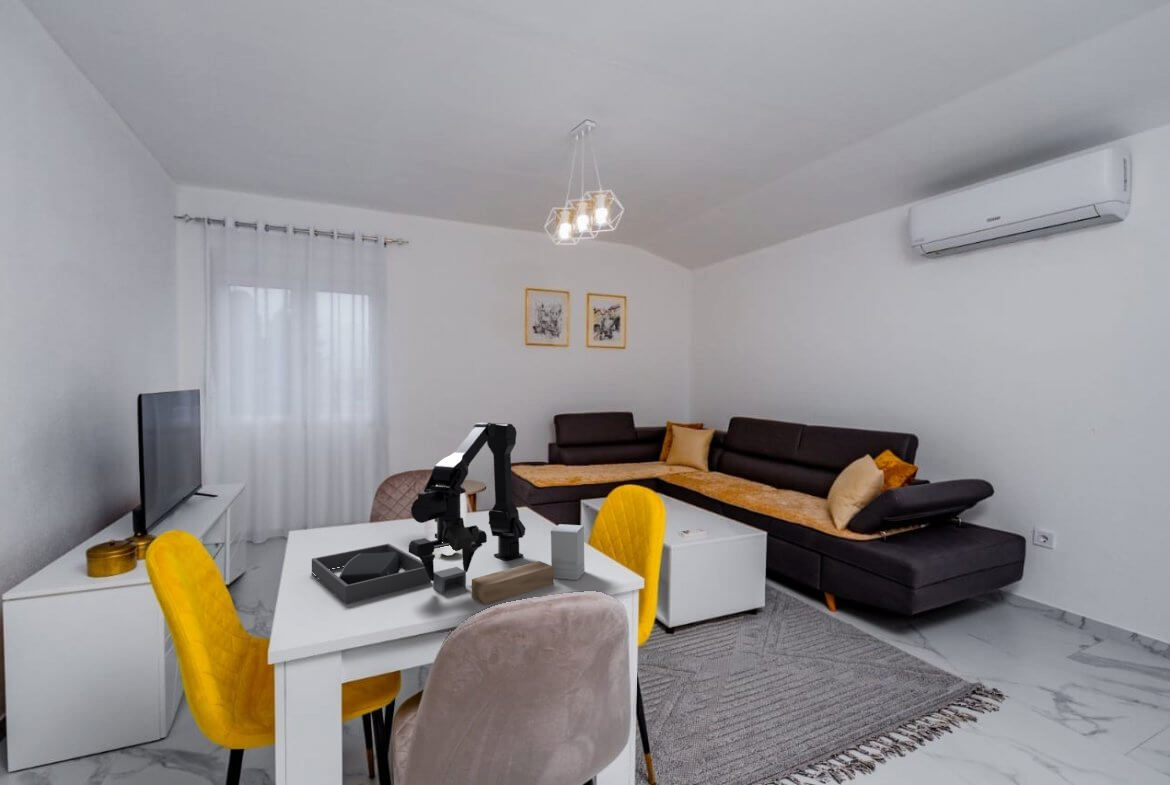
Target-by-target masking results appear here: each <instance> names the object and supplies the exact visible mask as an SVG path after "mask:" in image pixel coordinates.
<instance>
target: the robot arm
mask: <svg viewBox="0 0 1170 785" xmlns="http://www.w3.org/2000/svg"><path fill="white" fill-rule="evenodd" d="M516 441H517V429H516V427H515V426H514V425H513V424H512V423H499V422H498V423H492V422H487V421H486V422H484V421H483V422H477V423H474V425H473V429H471V431H470V432H469V434H468V435H467V436H466V438H465V439H464V440H463V441H462V443H461V444H459V445H458V447H457V448H456V450H455V451H454V452H453V453H452V454H450V455H448V456H446V457H444V458H442V459H441V460H440V461H439V462H438V463H437V464H435V466H433V469H432V472H431V474H430V476H429V478H428V481H427V482H426V485H425V487H424V489H423V491H424V492H419V493H417V499H415V500H413V503H412V505H411V506H410V513H411V516H412V519H414V520H415V521H416V522H418V523H420V524H423V523H427V522H430V521H432V520H433V521H434V522H435V523H436V533H434V539H435V540H429V539H428V538H425V537H424V538H419V539H414V540H413V539H412V540H411V541H410V543H409V544H408V554H410V555H412V556H415V557H417V558H419V559H420V561H422V563H423V565H424V567H425V569H426V571H427V574H428V576H429V578H430V580H431V582H433V580H434V572H435V571H434V570H435V569H434V567H435V566H434V559H436V558H435V557H436V555H435V554H434V552H435V550H436V549H438V548H440V547H444V546H449V545H450V546H451V547H452V549H453V550H455V551H457V552H458V551H459V552H460V551H462V552H461V553H462V554H461V555H462V569H463V570H464V571H466V573H468V570H469V567H470V566H471V562H472V559H473V557H474V555H475V552H476V551H477V550H478V549H479V548H481V547H482V546H483V544H485V543H487V542H488V539H487V538H488V535H487V533H486V532H485V531H484V530H482V529H479V527H478V526H477V525H475V524H474V525H470V526H466V527H465V523H464V522H465V521H464V518H463V517H461V494H465V493H466V492H467V491H466V489H465V488H463V487H462V485H463V483H464V481H465V480H466V478H467V476H468V474H469V466H470V464H471V463H472V462H473V460H474V459H475V458H476V456H477V455H478V453H479V452H480V451H481V450H482V448H483V447H484V445H486V444H487V447H488V448H489V450H490V452H491V453H492V454H493V474H494V475H493V476H494V477H493V480H494V506H492V509H490V510H489V511H488V525H489V527H490V528H489V529H490V531H491V537H492V536H493V537H498V538H497V541H498V542H497V544H498V548H497V552H498V553H497V552H496V553H494V554H493V556H494V557H495V558H498V559H500V560H502V561H510V560H514V559H518V558H522V557H524V554H523V553H520V539H521V538H524V536H525V535H526V527H525V525H524V524H523V522H522V521H521V519H520V515H519V514H520V513H519V510H518V509H517V506H516V505H515V504H514V502H513V483H512V461H511V460H512V459H511V457H512V456H511V454H512V451H513V449H514V447H515V445H516V443H517V442H516ZM442 542H443V543H442Z"/></svg>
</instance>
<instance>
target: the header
mask: <svg viewBox="0 0 1170 785" xmlns="http://www.w3.org/2000/svg"><path fill="white" fill-rule="evenodd" d="M551 585H554V578H553V566H552V564H548V563H546V562H543V561H540V560H537V561H534V562H531V563H527V564H523V565H519V566H515V567H512V568H507V569H504V570H500V571H497V572H493V573H490V574H486V575H482V576H478V577H475V578H471V598H472V599H474V600H475V601H476V602H479V603H481V604H482V605H484V606H486V605H489V604H492V603H493V604H494V603H496V602H498V601H502V600H506V599H509V598H512V597H515V596H518V595H522V594H524V593H527V592H531V591H534V590H539V589H541V588H544V587H547V586H551Z"/></svg>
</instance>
